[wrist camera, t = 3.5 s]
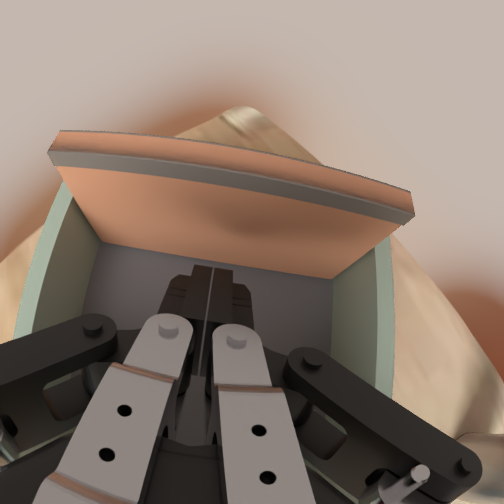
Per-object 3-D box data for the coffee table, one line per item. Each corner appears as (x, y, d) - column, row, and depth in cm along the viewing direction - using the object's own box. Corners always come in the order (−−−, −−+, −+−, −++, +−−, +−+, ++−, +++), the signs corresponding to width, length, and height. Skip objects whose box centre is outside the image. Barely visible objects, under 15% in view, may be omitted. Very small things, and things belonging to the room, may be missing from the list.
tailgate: (331, 280, 21) (415, 215, 12) (101, 243, 19) (46, 152, 10) (331, 263, 21) (410, 191, 12) (107, 226, 20) (60, 130, 10)
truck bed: (304, 454, 21) (418, 522, 6) (82, 422, 19) (-36, 461, 4) (318, 289, 27) (428, 203, 13) (110, 255, 25) (39, 136, 10)
